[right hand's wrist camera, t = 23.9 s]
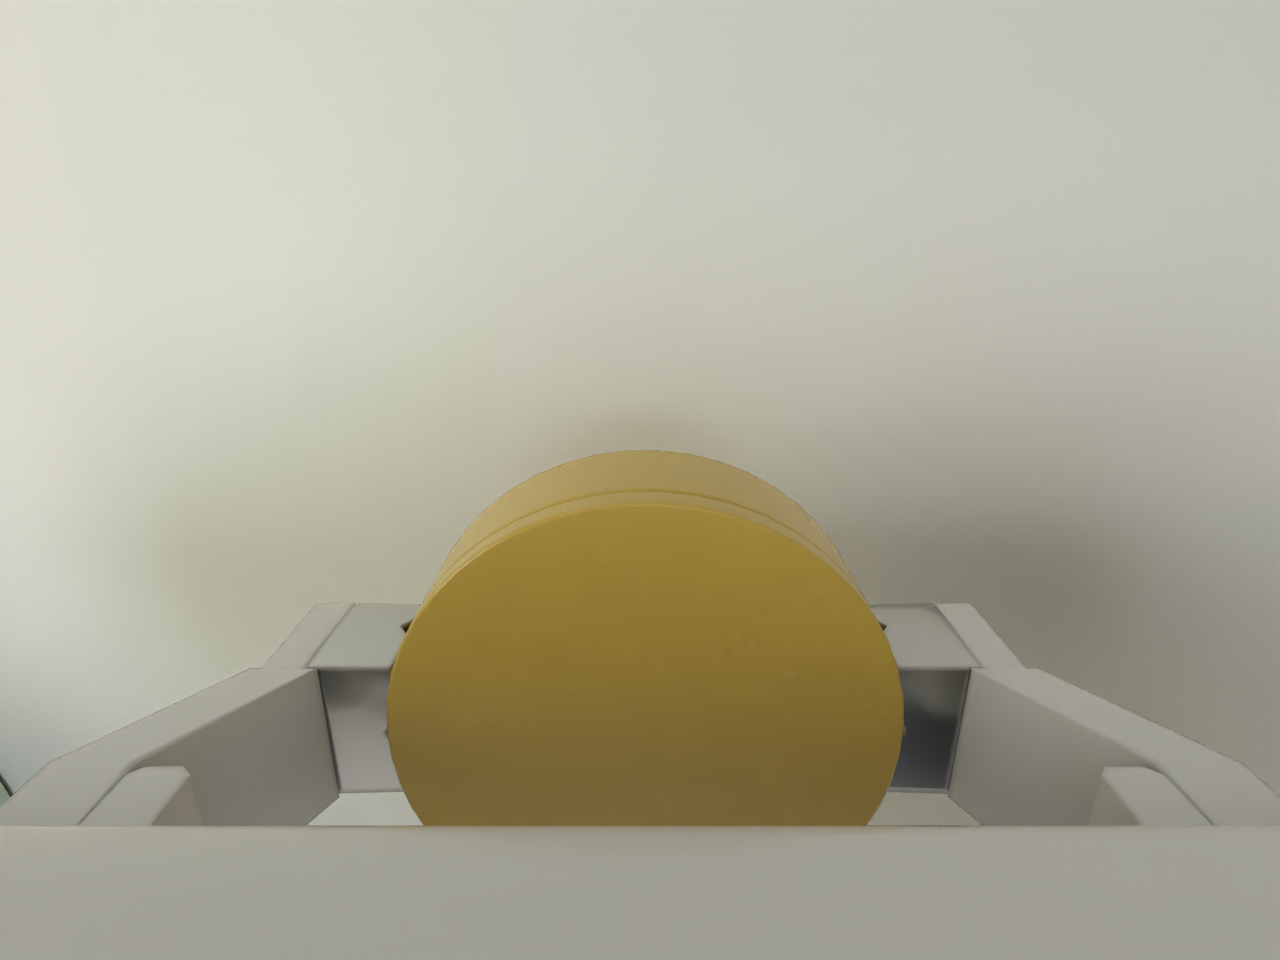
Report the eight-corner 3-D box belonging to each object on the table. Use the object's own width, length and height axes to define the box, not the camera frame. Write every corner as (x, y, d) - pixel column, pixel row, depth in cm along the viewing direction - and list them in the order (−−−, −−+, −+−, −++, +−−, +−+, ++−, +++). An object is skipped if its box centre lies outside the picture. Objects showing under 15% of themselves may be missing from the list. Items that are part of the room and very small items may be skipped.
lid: (367, 500, 9) (307, 563, 8) (833, 404, 9) (878, 449, 7) (495, 849, 11) (470, 959, 10) (881, 786, 11) (925, 890, 9)
